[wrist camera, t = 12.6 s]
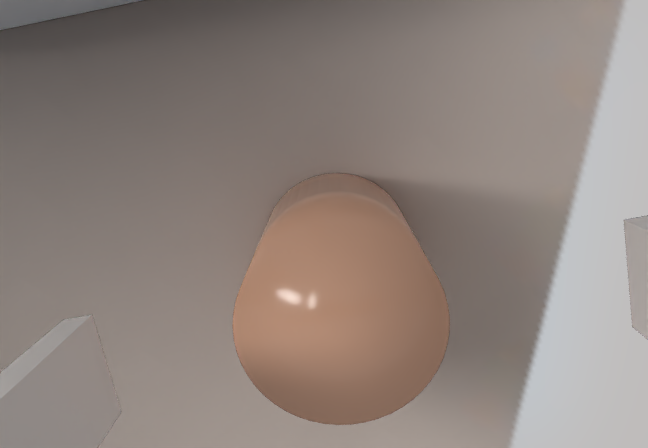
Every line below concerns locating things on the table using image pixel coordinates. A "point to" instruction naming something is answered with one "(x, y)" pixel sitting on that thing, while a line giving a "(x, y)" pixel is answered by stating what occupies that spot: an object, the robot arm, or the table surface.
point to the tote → (48, 10)
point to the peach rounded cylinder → (340, 305)
